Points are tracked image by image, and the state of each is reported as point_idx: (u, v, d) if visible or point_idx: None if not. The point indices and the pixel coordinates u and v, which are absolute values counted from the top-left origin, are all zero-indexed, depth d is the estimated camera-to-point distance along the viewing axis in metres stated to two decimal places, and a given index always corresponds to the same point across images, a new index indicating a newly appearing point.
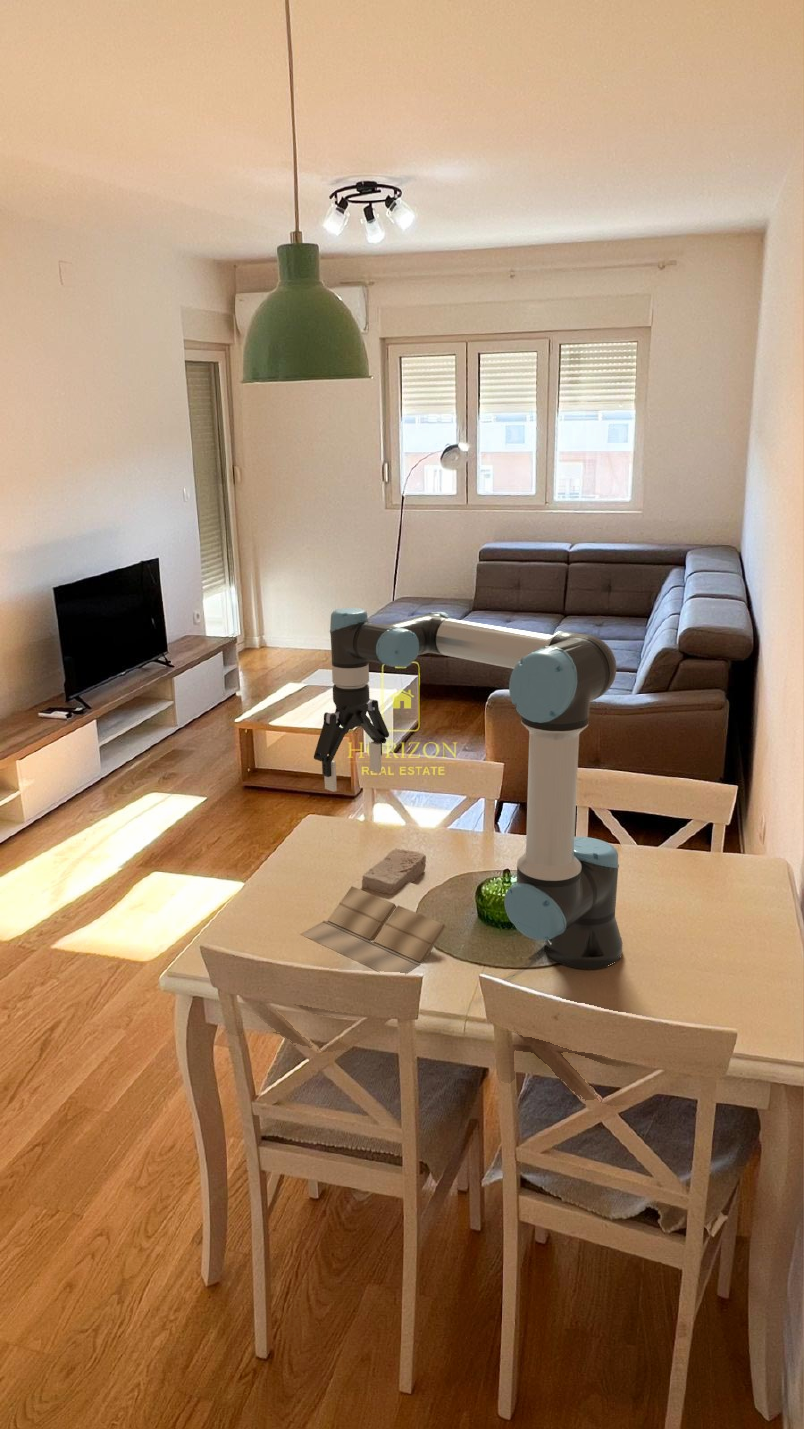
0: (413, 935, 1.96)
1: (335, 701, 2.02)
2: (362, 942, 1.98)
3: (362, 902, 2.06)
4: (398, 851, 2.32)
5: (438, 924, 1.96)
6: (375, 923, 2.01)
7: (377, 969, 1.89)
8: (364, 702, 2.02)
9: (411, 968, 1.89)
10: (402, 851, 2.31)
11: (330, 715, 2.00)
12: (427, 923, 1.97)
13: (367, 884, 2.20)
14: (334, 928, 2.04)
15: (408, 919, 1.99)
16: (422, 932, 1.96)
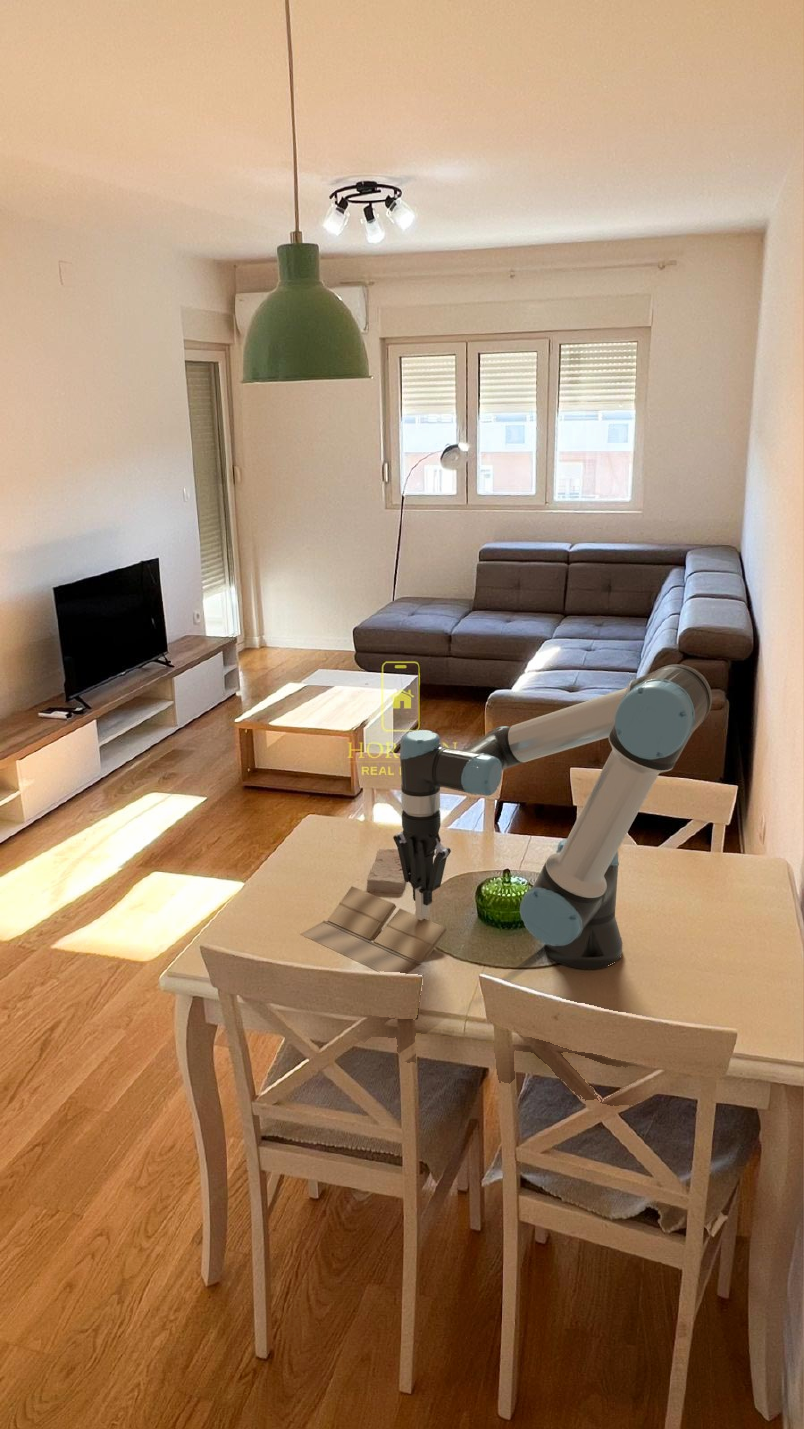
0: (414, 936, 1.96)
1: None
2: (362, 942, 1.98)
3: (362, 902, 2.06)
4: (384, 851, 2.32)
5: (440, 927, 1.96)
6: (375, 923, 2.01)
7: (377, 969, 1.89)
8: (409, 831, 1.90)
9: (411, 968, 1.89)
10: (388, 850, 2.32)
11: None
12: (428, 926, 1.97)
13: (373, 887, 2.18)
14: (334, 928, 2.04)
15: (409, 921, 2.00)
16: (423, 934, 1.96)
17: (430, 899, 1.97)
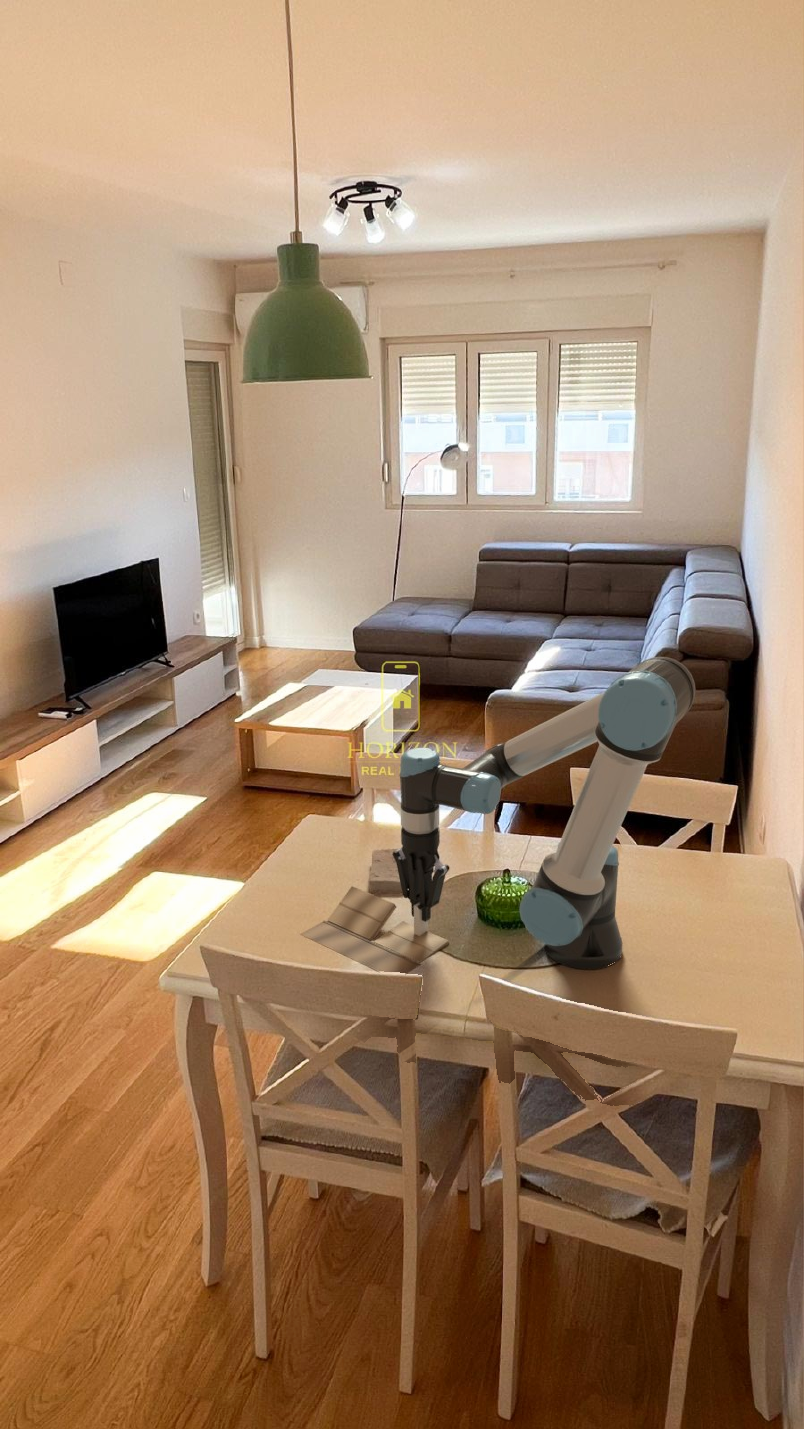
0: (416, 943, 1.97)
1: None
2: (362, 942, 1.98)
3: (362, 902, 2.06)
4: (379, 851, 2.31)
5: (442, 939, 1.98)
6: (375, 923, 2.01)
7: (377, 969, 1.89)
8: (408, 848, 1.92)
9: (411, 968, 1.89)
10: (383, 851, 2.32)
11: None
12: (431, 937, 1.99)
13: (376, 888, 2.18)
14: (334, 928, 2.04)
15: (411, 931, 2.01)
16: (425, 942, 1.97)
17: (429, 915, 1.98)
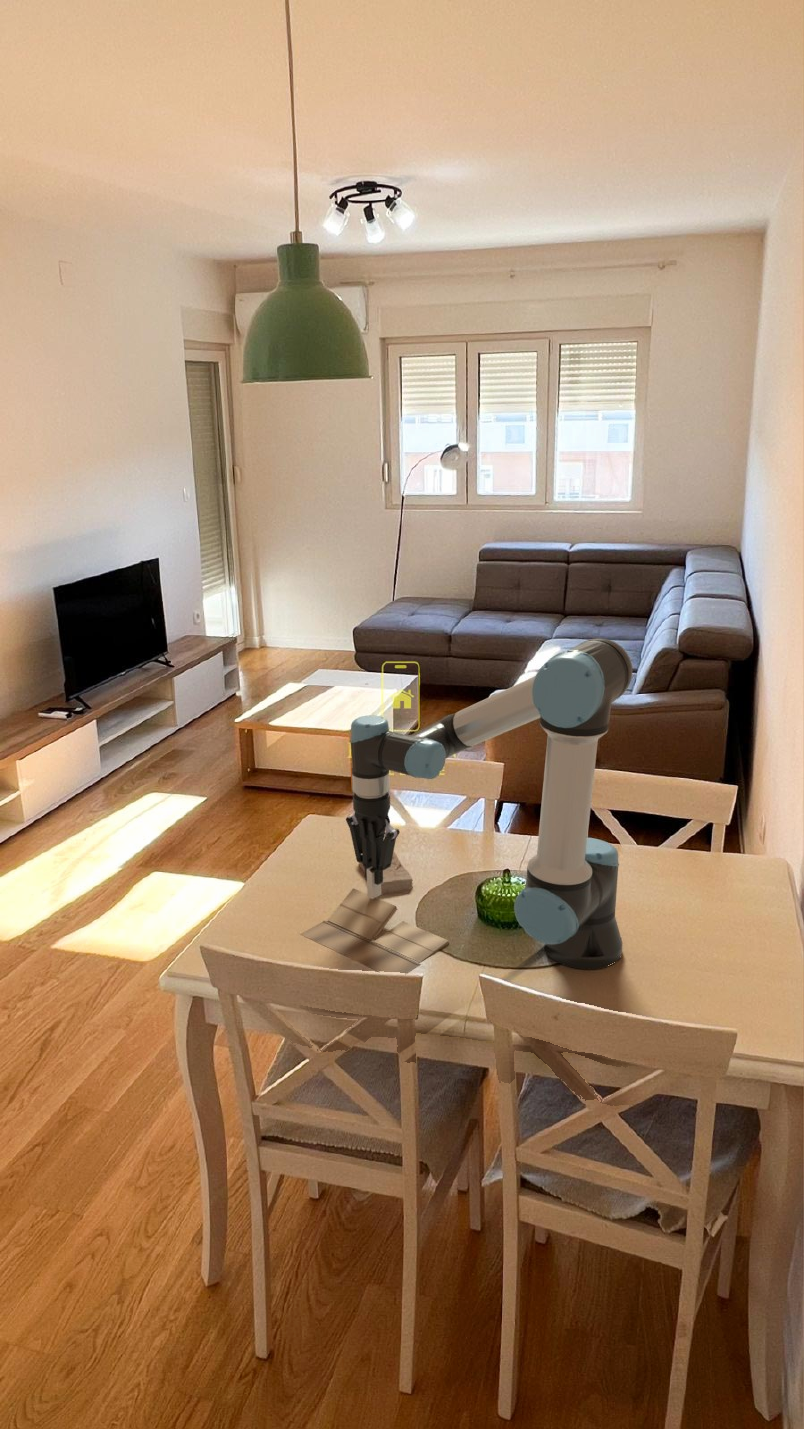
0: (416, 943, 1.97)
1: None
2: (362, 942, 1.98)
3: (363, 904, 2.07)
4: None
5: (442, 939, 1.98)
6: (376, 924, 2.02)
7: (377, 969, 1.89)
8: (359, 812, 1.98)
9: (411, 968, 1.89)
10: None
11: None
12: (431, 937, 1.99)
13: (386, 889, 2.17)
14: (334, 928, 2.04)
15: (411, 932, 2.01)
16: (425, 942, 1.97)
17: (381, 879, 2.05)
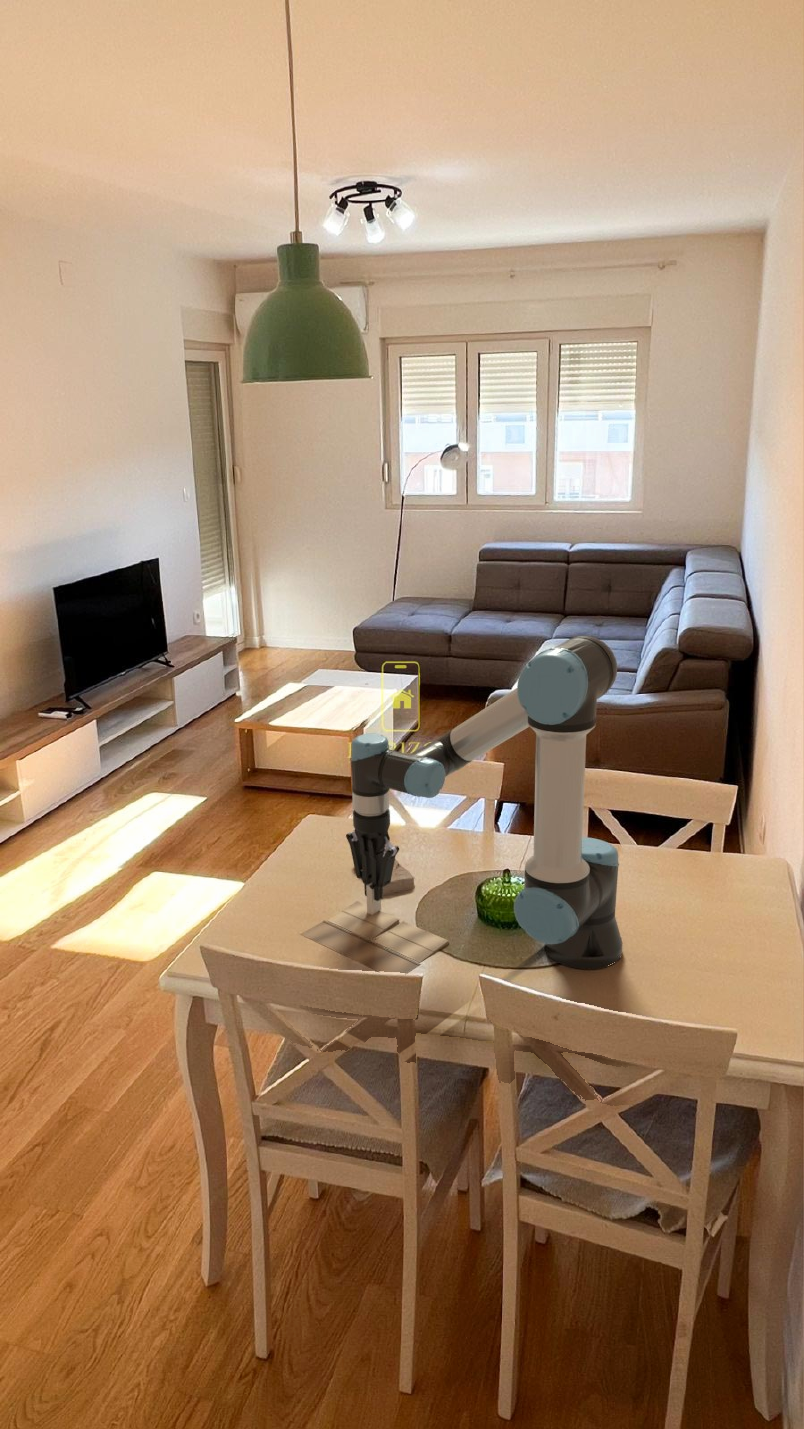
0: (416, 943, 1.97)
1: None
2: (362, 942, 1.98)
3: (366, 913, 2.08)
4: None
5: (442, 939, 1.98)
6: (377, 929, 2.02)
7: (377, 969, 1.89)
8: (359, 829, 2.00)
9: (411, 968, 1.89)
10: None
11: None
12: (431, 937, 1.99)
13: (389, 889, 2.17)
14: (334, 928, 2.04)
15: (411, 932, 2.01)
16: (425, 942, 1.97)
17: (381, 895, 2.07)
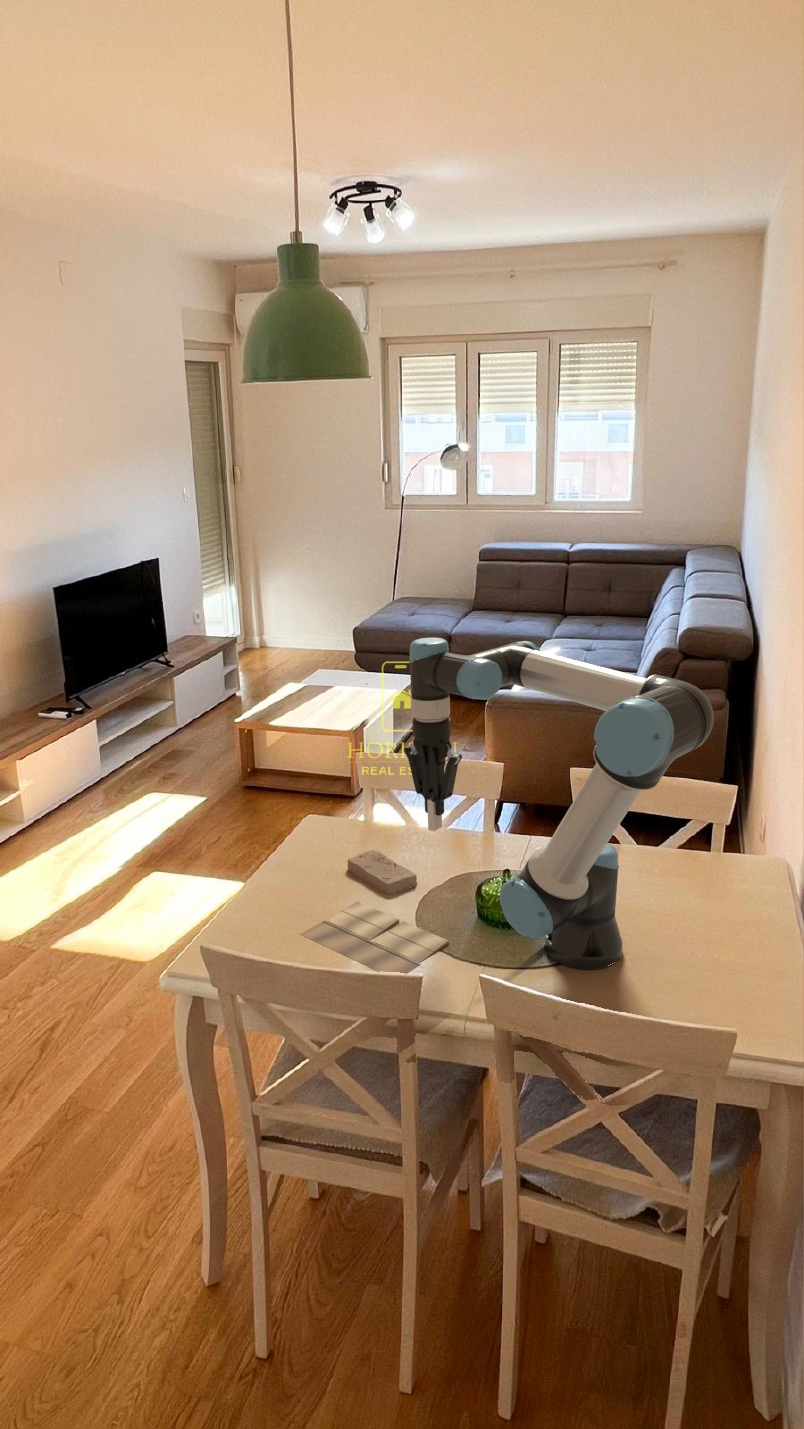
0: (416, 943, 1.97)
1: None
2: (362, 942, 1.98)
3: (366, 913, 2.08)
4: (355, 859, 2.28)
5: (442, 939, 1.98)
6: (377, 929, 2.02)
7: (377, 969, 1.89)
8: (420, 737, 1.93)
9: (411, 968, 1.89)
10: (358, 857, 2.29)
11: None
12: (431, 937, 1.99)
13: (395, 889, 2.18)
14: (334, 928, 2.04)
15: (411, 932, 2.01)
16: (425, 942, 1.97)
17: (442, 809, 1.99)
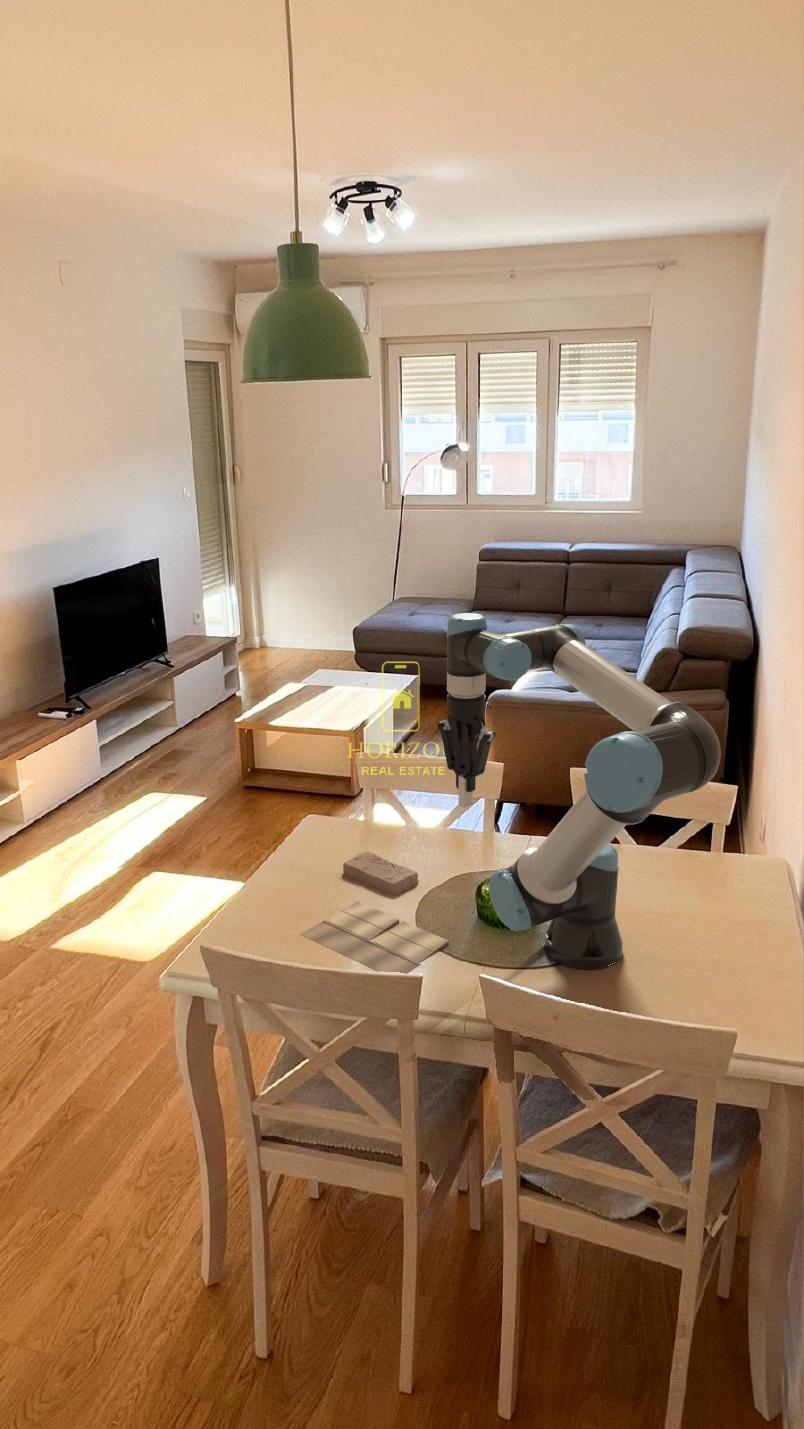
0: (416, 943, 1.97)
1: None
2: (362, 942, 1.98)
3: (366, 913, 2.08)
4: (351, 862, 2.27)
5: (442, 939, 1.98)
6: (377, 929, 2.02)
7: (377, 969, 1.89)
8: (454, 713, 1.92)
9: (411, 968, 1.89)
10: (353, 860, 2.27)
11: None
12: (431, 937, 1.99)
13: (400, 888, 2.18)
14: (334, 928, 2.04)
15: (411, 932, 2.01)
16: (425, 942, 1.97)
17: (473, 786, 1.98)
